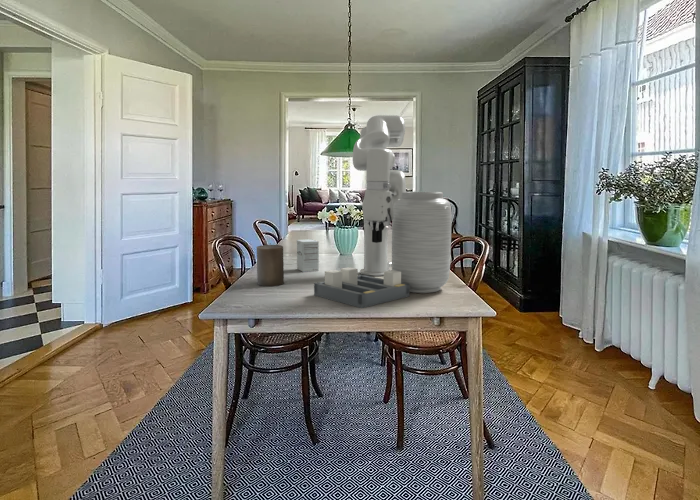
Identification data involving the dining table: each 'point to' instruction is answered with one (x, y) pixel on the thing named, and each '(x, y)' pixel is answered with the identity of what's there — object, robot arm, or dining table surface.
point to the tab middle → (350, 275)
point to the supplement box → (308, 255)
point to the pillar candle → (270, 265)
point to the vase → (422, 240)
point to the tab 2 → (392, 278)
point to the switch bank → (362, 292)
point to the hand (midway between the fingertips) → (377, 242)
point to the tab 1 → (333, 278)
